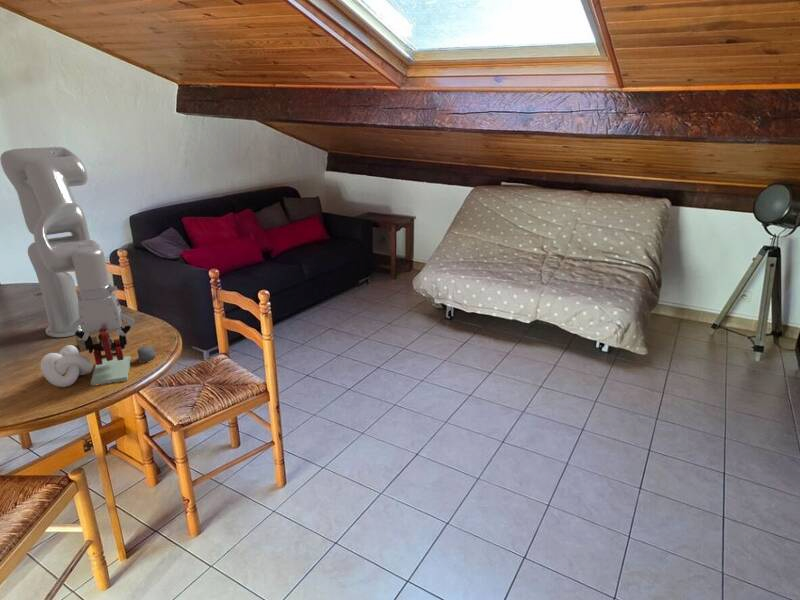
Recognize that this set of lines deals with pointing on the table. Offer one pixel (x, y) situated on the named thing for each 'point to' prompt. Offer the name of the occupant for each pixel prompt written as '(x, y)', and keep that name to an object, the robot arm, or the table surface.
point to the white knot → (65, 366)
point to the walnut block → (82, 344)
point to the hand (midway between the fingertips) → (107, 348)
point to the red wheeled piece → (107, 348)
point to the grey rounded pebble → (146, 354)
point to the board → (111, 371)
